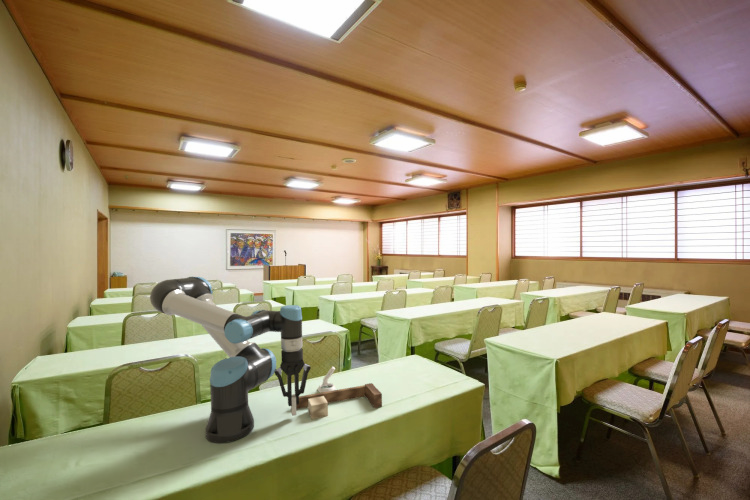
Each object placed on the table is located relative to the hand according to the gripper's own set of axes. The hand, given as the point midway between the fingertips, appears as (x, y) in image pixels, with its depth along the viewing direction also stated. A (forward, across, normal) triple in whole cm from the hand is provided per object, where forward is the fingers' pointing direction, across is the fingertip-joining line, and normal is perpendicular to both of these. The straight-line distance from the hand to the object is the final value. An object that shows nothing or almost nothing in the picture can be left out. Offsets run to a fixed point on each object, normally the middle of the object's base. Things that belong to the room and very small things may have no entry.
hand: (293, 413), depth 123 cm
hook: (+2, +17, +20) cm, 26 cm away
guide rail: (+2, +18, +2) cm, 18 cm away
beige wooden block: (+2, +9, 0) cm, 9 cm away
